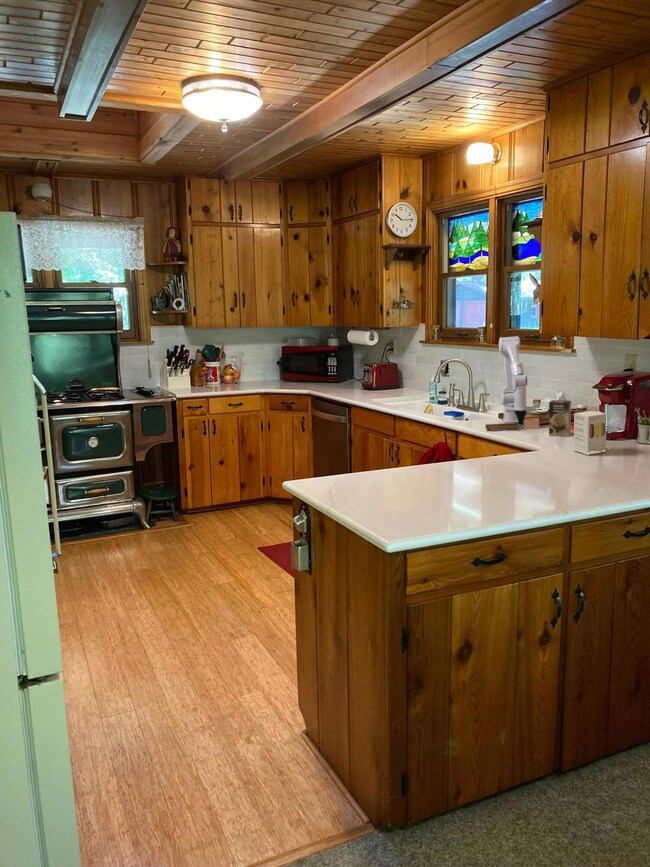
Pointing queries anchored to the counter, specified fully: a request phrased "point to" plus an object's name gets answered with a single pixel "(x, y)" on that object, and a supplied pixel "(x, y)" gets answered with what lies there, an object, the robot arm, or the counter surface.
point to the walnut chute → (504, 427)
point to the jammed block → (531, 423)
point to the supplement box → (590, 431)
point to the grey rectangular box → (559, 418)
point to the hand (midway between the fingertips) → (520, 425)
